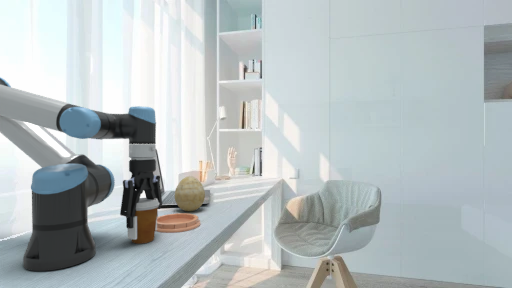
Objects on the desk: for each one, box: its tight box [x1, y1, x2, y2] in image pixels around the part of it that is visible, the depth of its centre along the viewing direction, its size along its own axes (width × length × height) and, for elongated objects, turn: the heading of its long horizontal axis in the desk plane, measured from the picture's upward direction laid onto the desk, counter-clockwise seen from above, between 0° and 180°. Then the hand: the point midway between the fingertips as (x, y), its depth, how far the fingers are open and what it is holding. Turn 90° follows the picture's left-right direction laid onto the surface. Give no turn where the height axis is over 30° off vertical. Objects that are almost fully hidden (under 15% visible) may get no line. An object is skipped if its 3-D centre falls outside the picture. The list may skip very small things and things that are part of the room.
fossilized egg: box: [174, 175, 206, 212], centre depth 127 cm, size 13×13×15 cm
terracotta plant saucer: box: [155, 212, 201, 234], centre depth 105 cm, size 17×17×2 cm
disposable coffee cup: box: [130, 197, 160, 245], centre depth 89 cm, size 10×10×12 cm
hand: (143, 234), depth 89 cm, fingers closed on disposable coffee cup, 8 cm apart
